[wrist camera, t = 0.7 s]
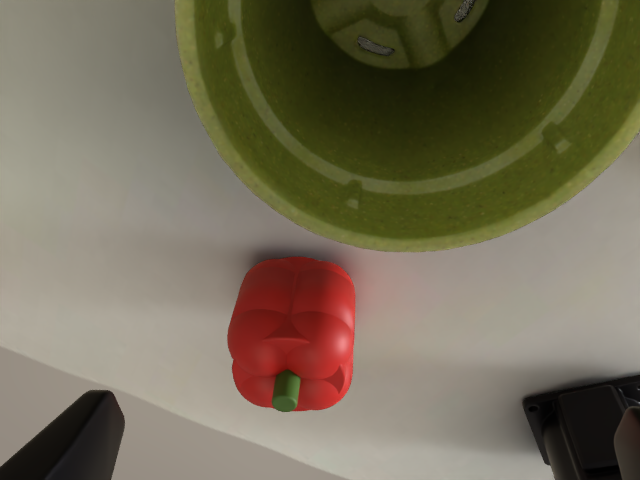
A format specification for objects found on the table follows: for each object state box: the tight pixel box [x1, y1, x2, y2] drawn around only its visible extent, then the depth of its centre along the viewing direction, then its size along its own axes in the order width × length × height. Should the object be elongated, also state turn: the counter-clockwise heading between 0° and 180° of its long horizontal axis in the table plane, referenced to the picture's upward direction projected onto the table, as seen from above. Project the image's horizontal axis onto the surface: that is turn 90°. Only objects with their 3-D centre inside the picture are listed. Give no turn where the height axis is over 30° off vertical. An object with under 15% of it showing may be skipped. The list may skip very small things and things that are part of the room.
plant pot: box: [175, 0, 640, 252], centre depth 13 cm, size 9×9×9 cm
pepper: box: [227, 257, 355, 412], centre depth 22 cm, size 6×6×7 cm
